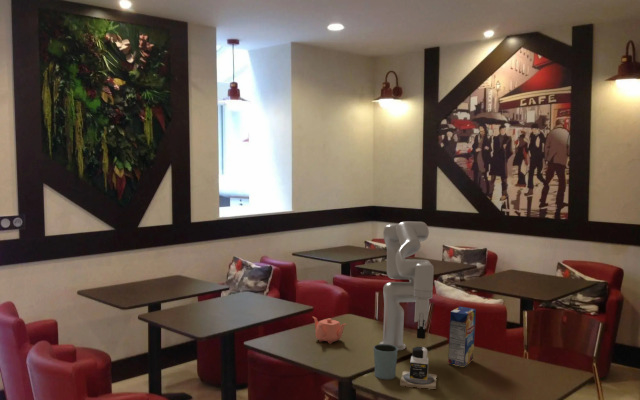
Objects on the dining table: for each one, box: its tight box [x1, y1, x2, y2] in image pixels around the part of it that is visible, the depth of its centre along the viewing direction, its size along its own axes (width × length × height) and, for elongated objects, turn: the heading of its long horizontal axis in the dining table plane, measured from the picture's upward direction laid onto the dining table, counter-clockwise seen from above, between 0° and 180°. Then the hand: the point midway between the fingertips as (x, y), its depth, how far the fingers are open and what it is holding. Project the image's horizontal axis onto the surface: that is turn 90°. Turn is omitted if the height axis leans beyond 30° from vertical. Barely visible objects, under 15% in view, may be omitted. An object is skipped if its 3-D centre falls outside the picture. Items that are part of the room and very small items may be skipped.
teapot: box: [312, 316, 347, 344], centre depth 290 cm, size 14×14×11 cm
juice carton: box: [447, 306, 477, 366], centre depth 264 cm, size 12×8×24 cm, turn 147°
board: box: [399, 370, 438, 390], centre depth 241 cm, size 14×14×2 cm
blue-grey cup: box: [373, 343, 399, 380], centre depth 246 cm, size 10×10×12 cm
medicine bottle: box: [409, 346, 429, 380], centre depth 240 cm, size 7×7×12 cm
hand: (420, 337), depth 239 cm, fingers closed
